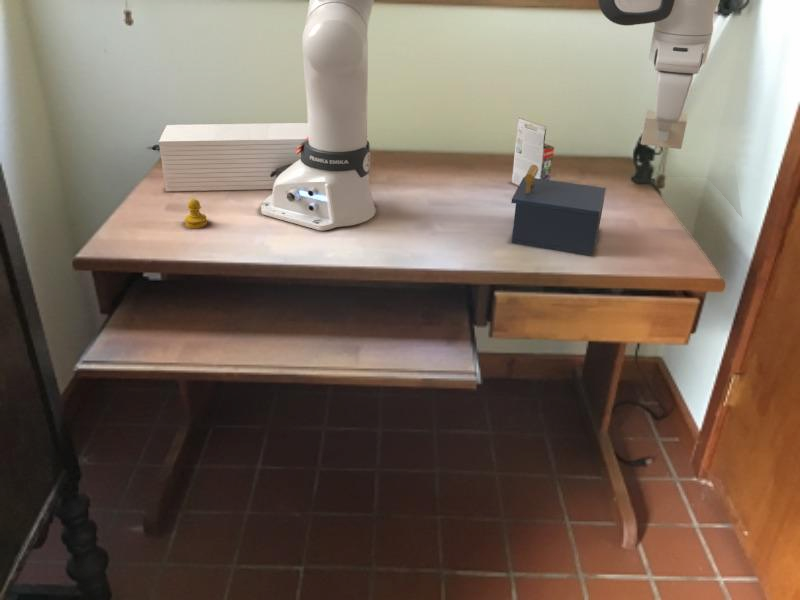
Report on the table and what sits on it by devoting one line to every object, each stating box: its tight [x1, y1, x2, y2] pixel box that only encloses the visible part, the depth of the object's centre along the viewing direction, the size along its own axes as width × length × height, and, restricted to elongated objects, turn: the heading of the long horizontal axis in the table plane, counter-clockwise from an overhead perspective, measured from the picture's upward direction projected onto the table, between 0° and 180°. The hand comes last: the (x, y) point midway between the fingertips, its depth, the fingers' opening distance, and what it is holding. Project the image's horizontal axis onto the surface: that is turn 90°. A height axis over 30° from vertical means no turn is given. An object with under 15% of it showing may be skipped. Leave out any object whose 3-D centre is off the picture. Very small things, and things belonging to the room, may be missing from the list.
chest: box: [511, 194, 606, 257], centre depth 139 cm, size 15×12×8 cm
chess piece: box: [184, 198, 208, 229], centre depth 141 cm, size 4×4×5 cm
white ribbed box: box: [158, 122, 308, 192], centre depth 159 cm, size 32×11×11 cm, turn 96°
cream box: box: [640, 109, 688, 150], centre depth 126 cm, size 6×5×5 cm
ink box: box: [511, 117, 555, 187], centre depth 158 cm, size 4×8×15 cm, turn 39°
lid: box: [511, 165, 607, 216], centre depth 136 cm, size 15×12×5 cm
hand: (662, 134), depth 126 cm, fingers closed on cream box, 5 cm apart
